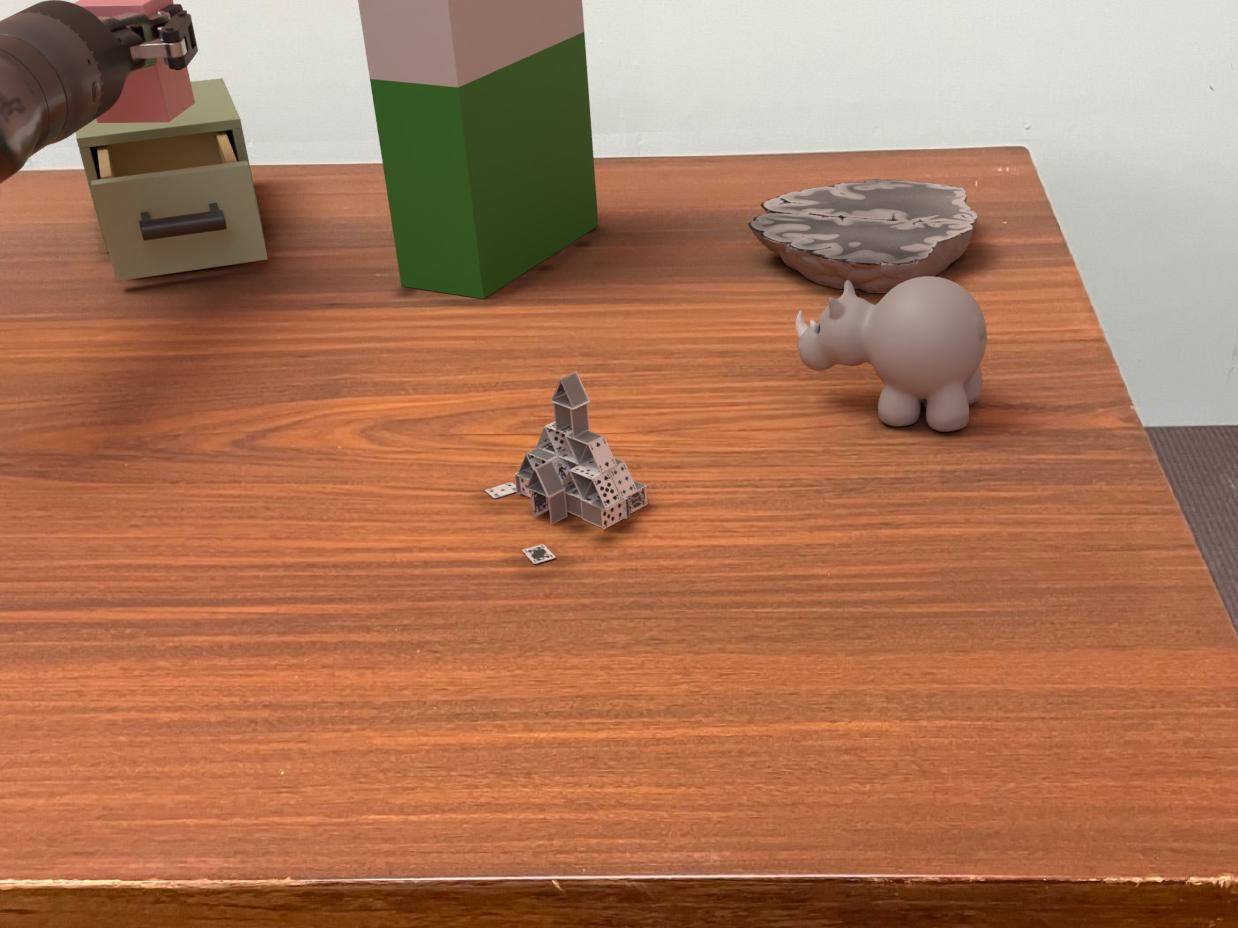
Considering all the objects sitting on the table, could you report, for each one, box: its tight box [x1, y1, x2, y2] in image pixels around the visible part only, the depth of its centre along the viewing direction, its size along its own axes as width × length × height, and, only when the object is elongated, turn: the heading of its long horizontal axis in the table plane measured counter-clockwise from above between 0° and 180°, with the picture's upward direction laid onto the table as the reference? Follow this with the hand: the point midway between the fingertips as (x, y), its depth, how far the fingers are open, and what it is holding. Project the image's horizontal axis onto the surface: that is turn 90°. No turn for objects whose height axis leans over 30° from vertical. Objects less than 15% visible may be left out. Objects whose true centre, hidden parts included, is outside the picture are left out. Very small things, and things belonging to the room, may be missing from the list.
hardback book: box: [357, 0, 599, 300], centre depth 114 cm, size 18×7×24 cm, turn 154°
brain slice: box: [747, 178, 979, 294], centre depth 117 cm, size 20×17×3 cm
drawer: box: [91, 131, 269, 282], centre depth 119 cm, size 18×11×7 cm, turn 20°
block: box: [73, 0, 195, 123], centre depth 112 cm, size 6×6×8 cm
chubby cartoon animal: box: [794, 276, 988, 433], centre depth 93 cm, size 7×12×8 cm, turn 67°
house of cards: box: [484, 370, 649, 565], centre depth 84 cm, size 9×9×8 cm
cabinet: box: [75, 77, 264, 253], centre depth 129 cm, size 15×13×9 cm
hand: (139, 19), depth 113 cm, fingers closed on block, 5 cm apart
